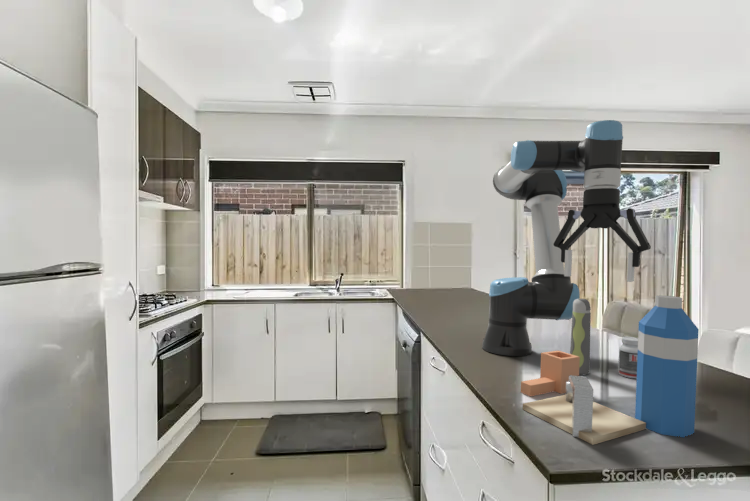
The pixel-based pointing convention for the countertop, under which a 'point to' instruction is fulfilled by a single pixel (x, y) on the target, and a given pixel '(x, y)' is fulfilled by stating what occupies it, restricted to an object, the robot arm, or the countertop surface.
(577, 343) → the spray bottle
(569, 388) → the pintle
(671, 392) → the water bottle
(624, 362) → the pill bottle
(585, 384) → the block
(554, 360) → the link
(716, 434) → the countertop surface
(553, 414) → the board
